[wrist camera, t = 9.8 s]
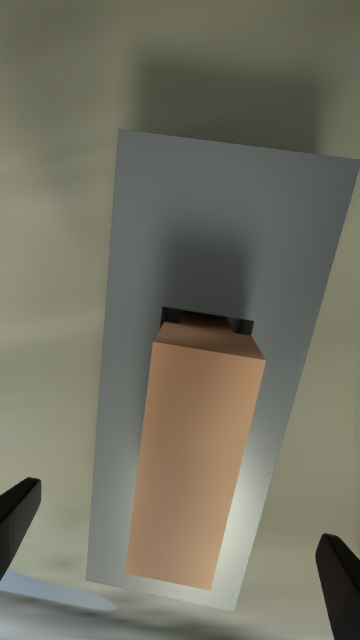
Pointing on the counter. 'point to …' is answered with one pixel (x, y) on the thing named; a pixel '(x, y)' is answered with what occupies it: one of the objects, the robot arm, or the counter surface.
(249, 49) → the counter surface
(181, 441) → the tan pronged block
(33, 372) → the counter surface
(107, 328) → the rail
